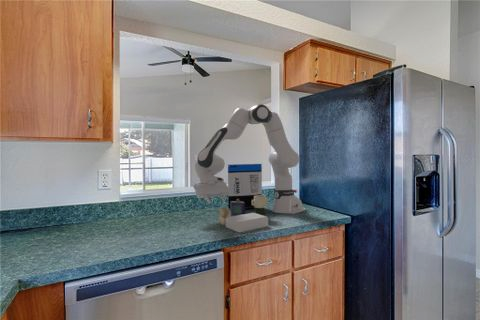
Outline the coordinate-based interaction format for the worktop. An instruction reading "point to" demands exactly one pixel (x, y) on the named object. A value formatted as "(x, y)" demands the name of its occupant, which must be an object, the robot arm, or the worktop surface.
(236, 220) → the grey box
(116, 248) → the worktop surface
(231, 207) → the flask
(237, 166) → the protein powder
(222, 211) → the maple block
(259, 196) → the character mug
